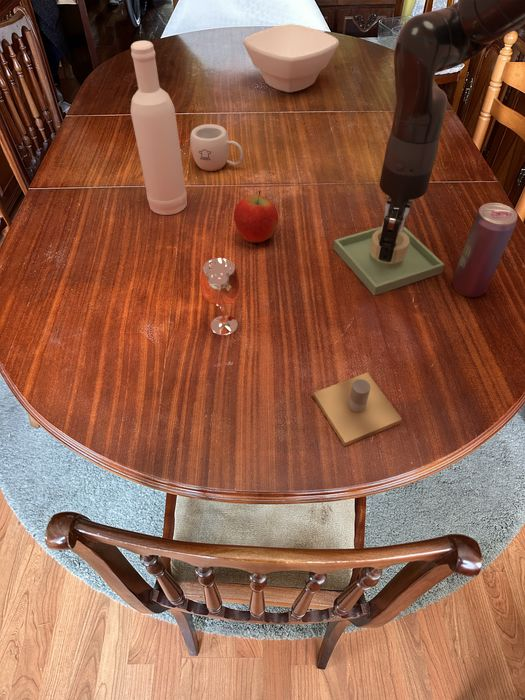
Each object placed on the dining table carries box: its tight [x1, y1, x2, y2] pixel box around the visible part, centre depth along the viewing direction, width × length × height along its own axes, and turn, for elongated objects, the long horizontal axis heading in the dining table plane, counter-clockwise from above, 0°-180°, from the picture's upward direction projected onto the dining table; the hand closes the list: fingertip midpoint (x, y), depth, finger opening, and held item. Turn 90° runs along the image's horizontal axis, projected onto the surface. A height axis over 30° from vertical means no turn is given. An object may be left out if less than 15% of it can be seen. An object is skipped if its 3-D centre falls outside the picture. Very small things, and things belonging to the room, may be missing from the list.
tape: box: [370, 229, 410, 264], centre depth 90 cm, size 6×6×3 cm
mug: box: [189, 123, 244, 172], centre depth 112 cm, size 12×8×8 cm
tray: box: [333, 225, 445, 296], centre depth 92 cm, size 14×14×2 cm
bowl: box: [242, 23, 340, 93], centre depth 139 cm, size 22×22×12 cm
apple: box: [233, 190, 279, 244], centre depth 94 cm, size 8×8×10 cm
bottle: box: [130, 40, 188, 216], centre depth 94 cm, size 8×8×30 cm
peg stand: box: [312, 372, 403, 447], centre depth 69 cm, size 9×9×6 cm
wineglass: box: [200, 257, 241, 336], centre depth 78 cm, size 6×6×12 cm
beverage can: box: [451, 202, 518, 298], centre depth 82 cm, size 6×6×15 cm
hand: (389, 247), depth 91 cm, fingers closed on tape, 6 cm apart
